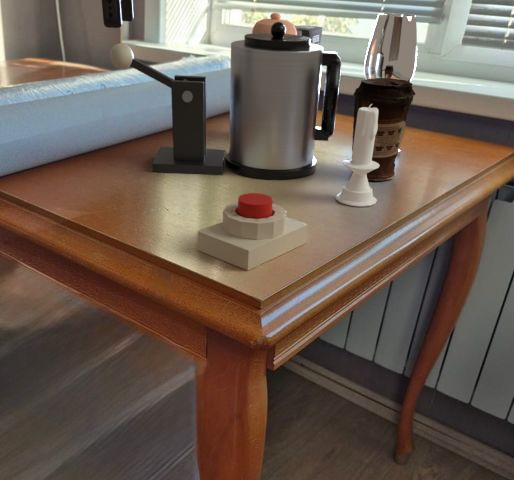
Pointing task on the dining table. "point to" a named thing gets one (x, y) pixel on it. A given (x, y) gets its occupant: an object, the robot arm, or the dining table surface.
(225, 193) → the dining table surface
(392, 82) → the coffee cup
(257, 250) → the power block
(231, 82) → the kettle
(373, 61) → the wineglass
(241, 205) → the power button
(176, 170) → the switch bracket
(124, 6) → the robot arm
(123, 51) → the lever switch
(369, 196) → the candle
